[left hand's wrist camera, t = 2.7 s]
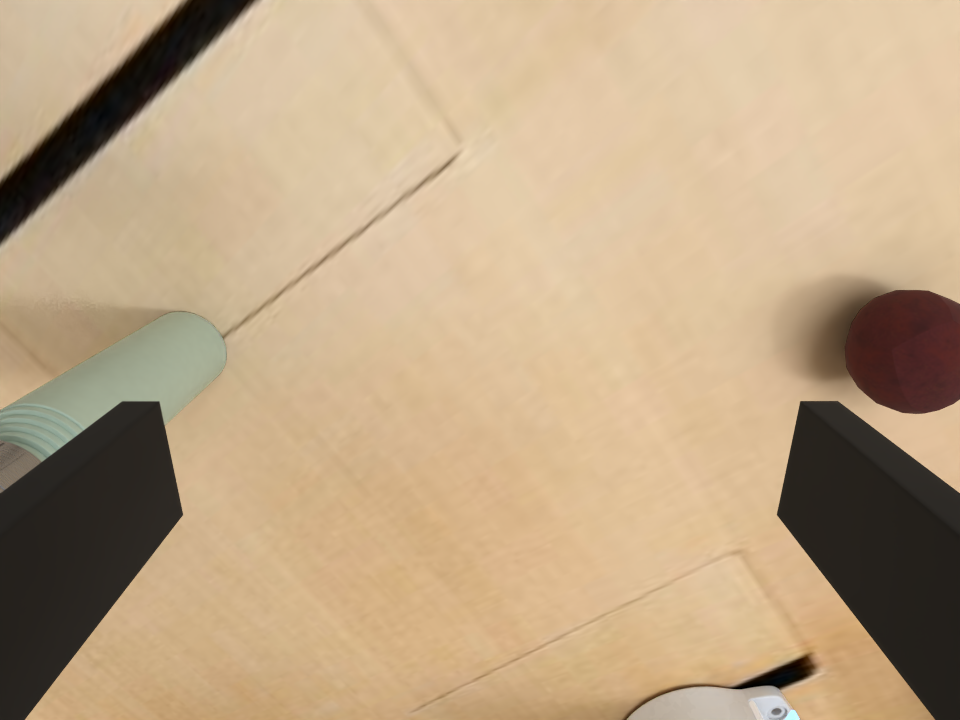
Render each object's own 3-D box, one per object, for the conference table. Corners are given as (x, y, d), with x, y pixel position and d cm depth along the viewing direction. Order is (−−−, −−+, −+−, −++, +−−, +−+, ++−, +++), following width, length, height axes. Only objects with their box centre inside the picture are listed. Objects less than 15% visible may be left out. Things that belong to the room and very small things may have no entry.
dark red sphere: (847, 402, 43) (914, 452, 36) (803, 315, 40) (866, 351, 34) (949, 348, 41) (1038, 390, 35) (910, 254, 39) (998, 279, 32)
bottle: (190, 399, 43) (-18, 591, 25) (130, 342, 41) (-136, 504, 23) (243, 355, 42) (65, 524, 24) (184, 295, 40) (-54, 427, 22)
